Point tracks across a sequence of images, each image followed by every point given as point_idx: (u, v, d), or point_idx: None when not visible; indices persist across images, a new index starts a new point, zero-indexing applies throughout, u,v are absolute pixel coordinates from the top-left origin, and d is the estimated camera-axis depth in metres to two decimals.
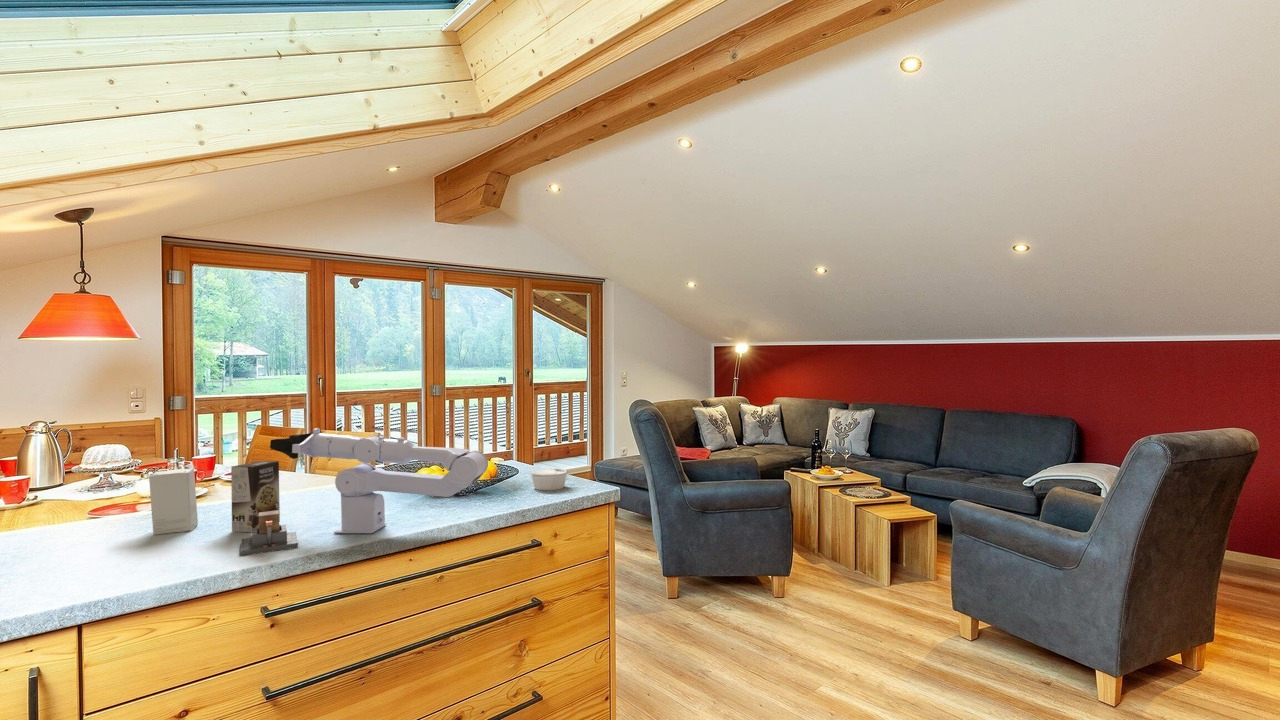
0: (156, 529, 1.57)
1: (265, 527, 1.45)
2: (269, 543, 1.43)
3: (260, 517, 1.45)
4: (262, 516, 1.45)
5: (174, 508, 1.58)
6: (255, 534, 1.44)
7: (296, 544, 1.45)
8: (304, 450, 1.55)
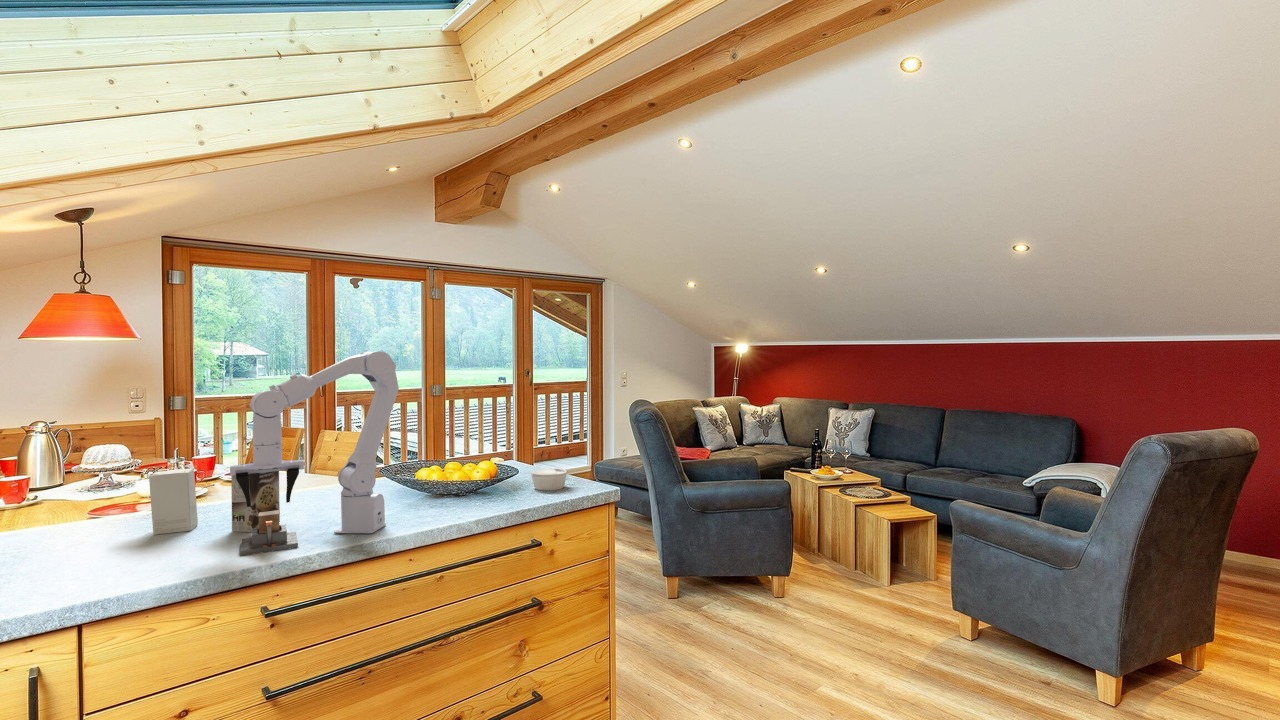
0: (156, 529, 1.57)
1: (265, 527, 1.45)
2: (269, 543, 1.43)
3: (260, 517, 1.45)
4: (262, 516, 1.45)
5: (174, 508, 1.58)
6: (255, 534, 1.44)
7: (296, 544, 1.45)
8: (291, 462, 1.50)
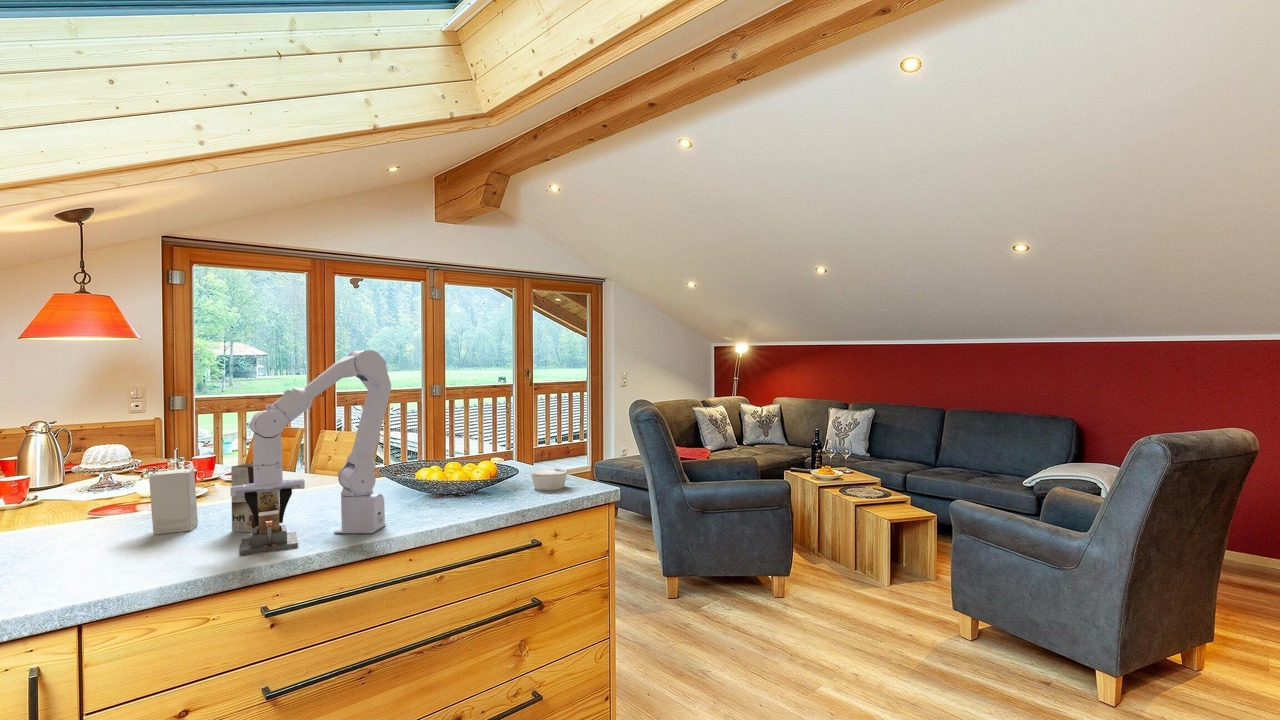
0: (156, 529, 1.57)
1: (265, 527, 1.45)
2: (269, 543, 1.43)
3: (260, 517, 1.45)
4: (262, 516, 1.45)
5: (174, 508, 1.58)
6: (255, 534, 1.44)
7: (296, 544, 1.45)
8: (291, 481, 1.50)
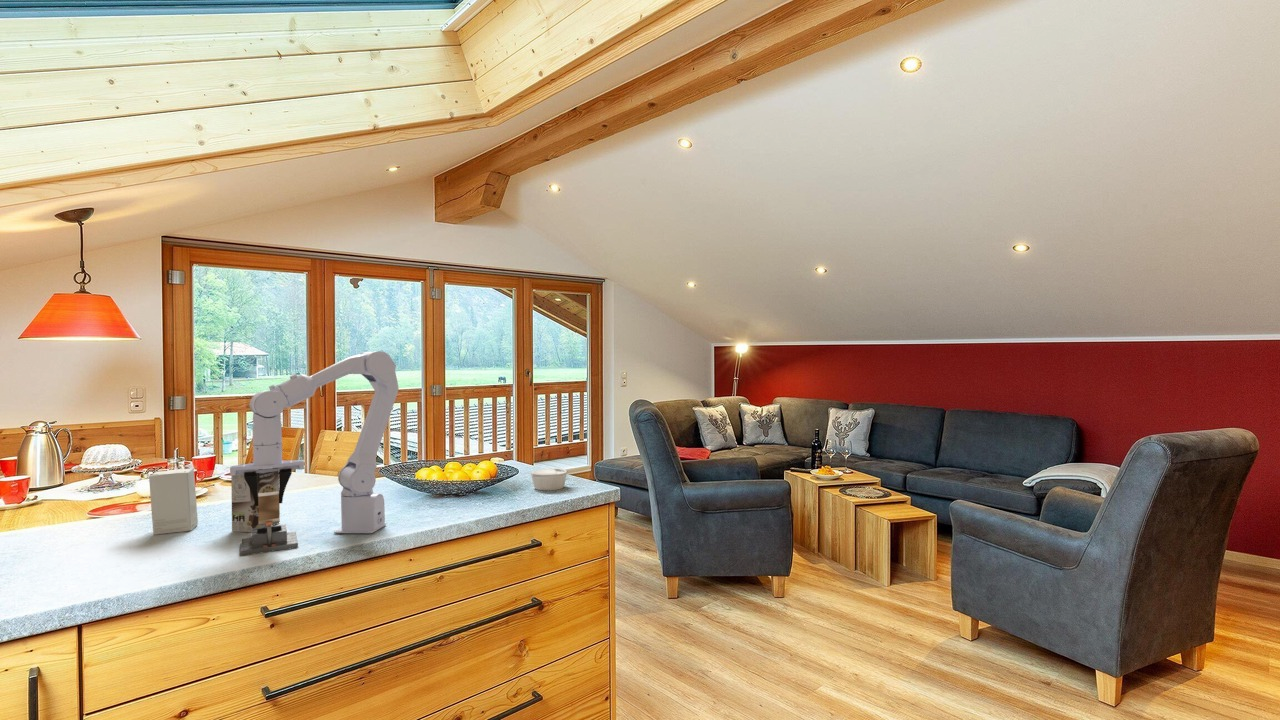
0: (156, 529, 1.57)
1: (265, 508, 1.45)
2: (269, 543, 1.43)
3: (260, 497, 1.45)
4: (262, 496, 1.45)
5: (174, 508, 1.58)
6: (255, 534, 1.44)
7: (296, 544, 1.45)
8: (291, 462, 1.50)
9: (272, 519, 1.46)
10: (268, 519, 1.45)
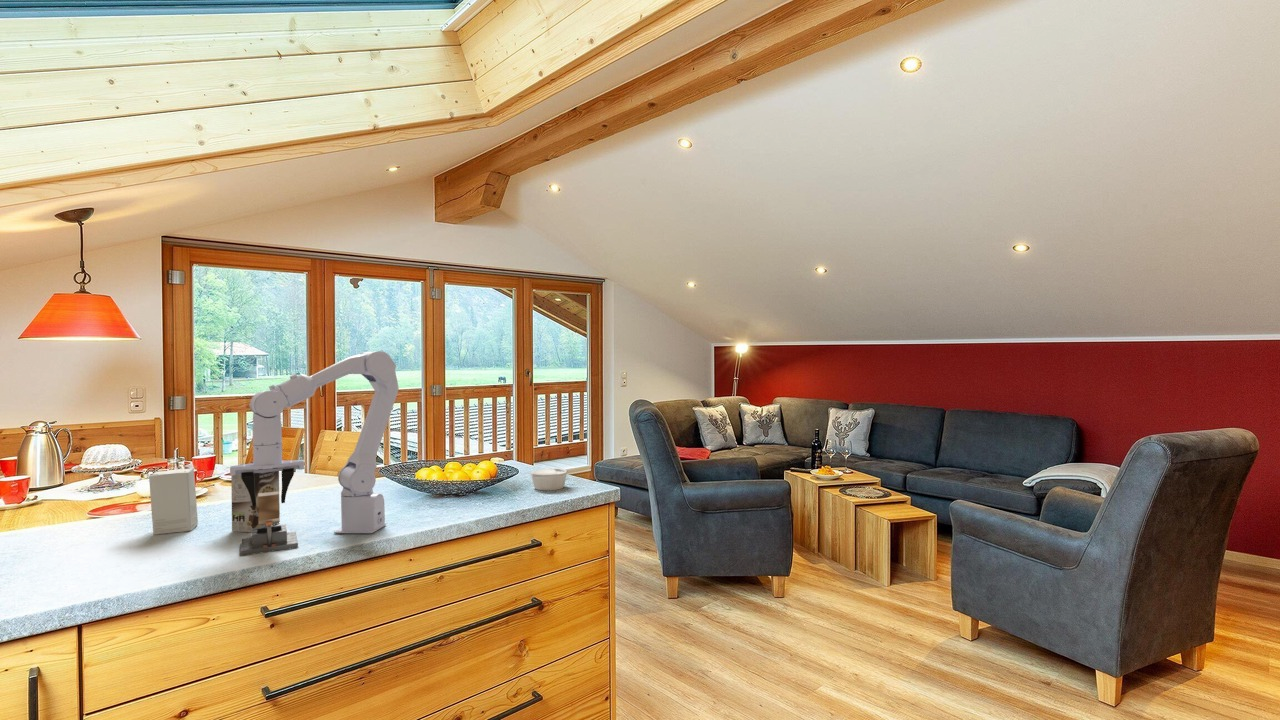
0: (156, 529, 1.57)
1: (265, 508, 1.45)
2: (269, 543, 1.43)
3: (260, 497, 1.45)
4: (262, 496, 1.45)
5: (174, 508, 1.58)
6: (255, 534, 1.44)
7: (296, 544, 1.45)
8: (291, 462, 1.50)
9: (272, 519, 1.46)
10: (268, 519, 1.45)
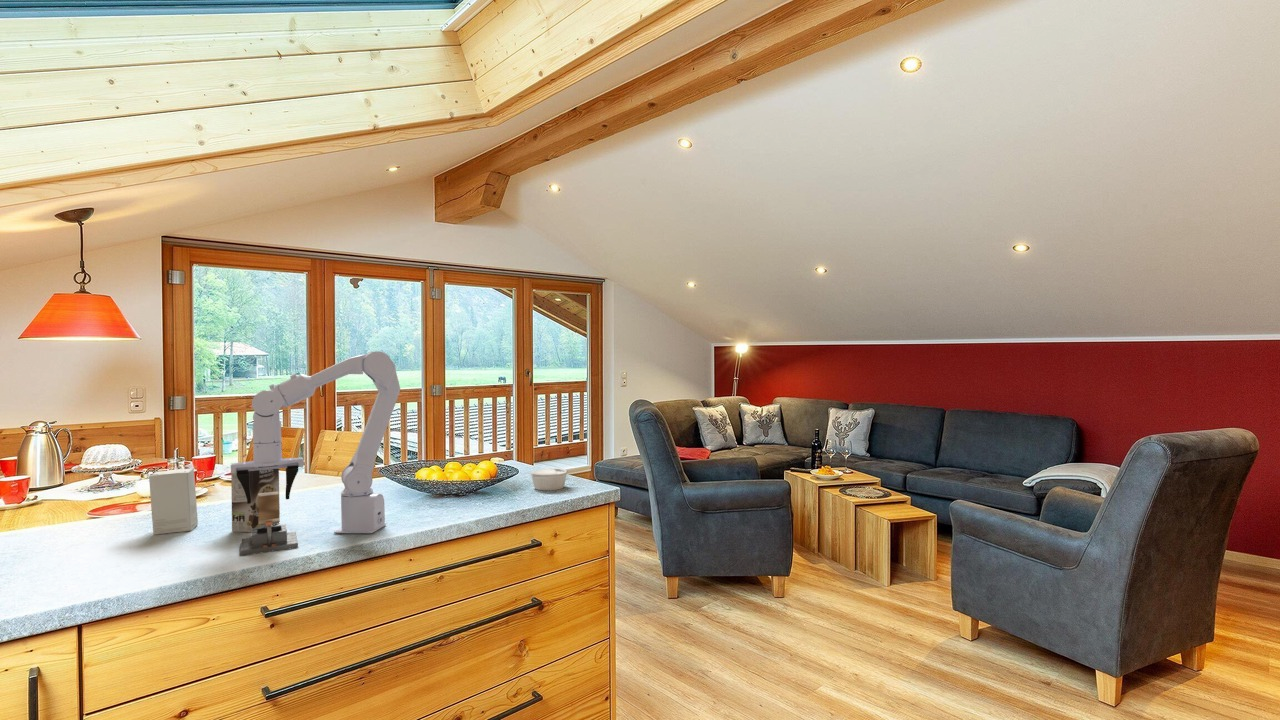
0: (156, 529, 1.57)
1: (265, 508, 1.45)
2: (269, 543, 1.43)
3: (260, 497, 1.45)
4: (262, 496, 1.45)
5: (174, 508, 1.58)
6: (255, 534, 1.44)
7: (296, 544, 1.45)
8: (290, 459, 1.53)
9: (272, 519, 1.46)
10: (268, 519, 1.45)
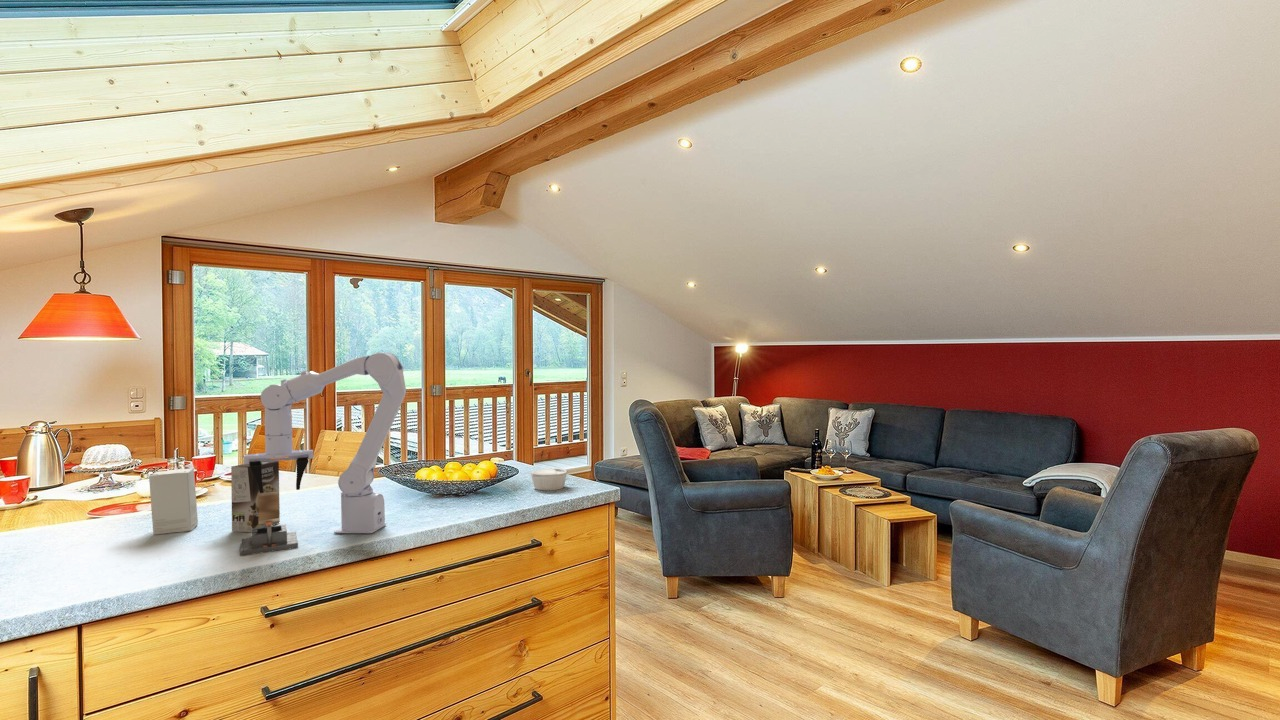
0: (156, 529, 1.57)
1: (265, 508, 1.45)
2: (269, 543, 1.43)
3: (260, 497, 1.45)
4: (262, 496, 1.45)
5: (174, 508, 1.58)
6: (255, 534, 1.44)
7: (296, 544, 1.45)
8: (301, 451, 1.59)
9: (272, 519, 1.46)
10: (268, 519, 1.45)
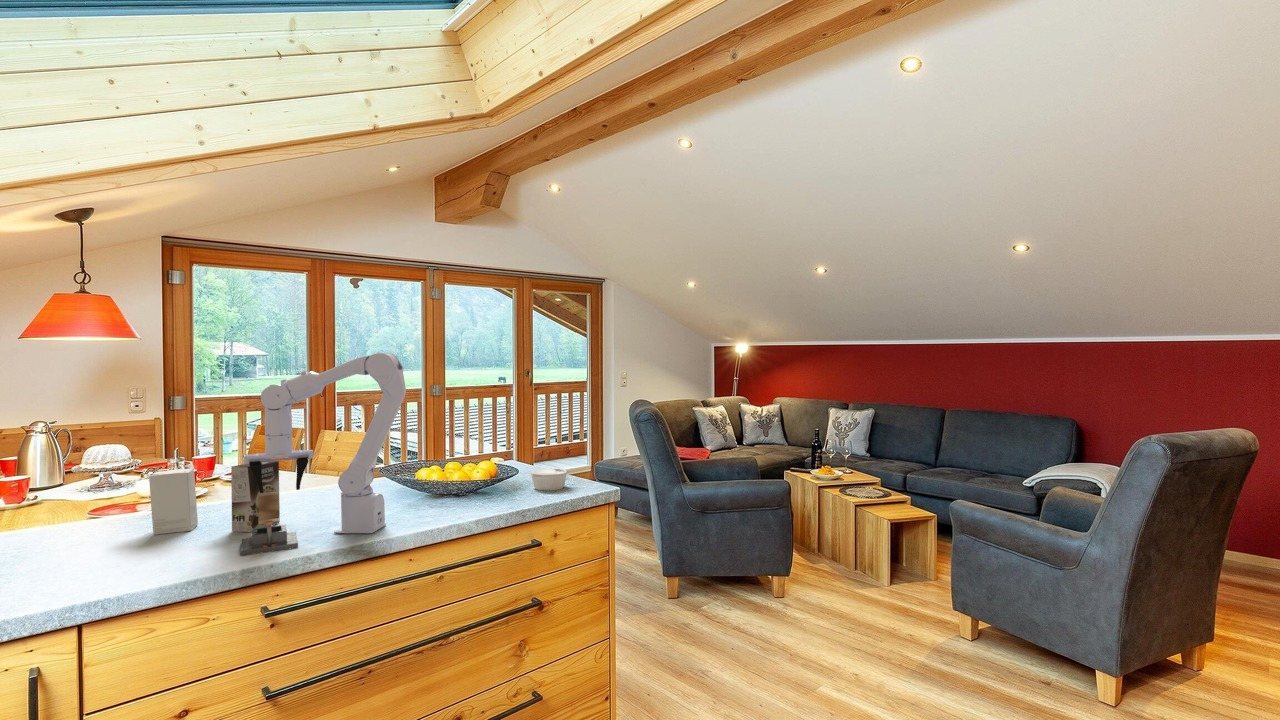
0: (156, 529, 1.57)
1: (265, 508, 1.45)
2: (269, 543, 1.43)
3: (260, 497, 1.45)
4: (262, 496, 1.45)
5: (174, 508, 1.58)
6: (255, 534, 1.44)
7: (296, 544, 1.45)
8: (301, 451, 1.59)
9: (272, 519, 1.46)
10: (268, 519, 1.45)
